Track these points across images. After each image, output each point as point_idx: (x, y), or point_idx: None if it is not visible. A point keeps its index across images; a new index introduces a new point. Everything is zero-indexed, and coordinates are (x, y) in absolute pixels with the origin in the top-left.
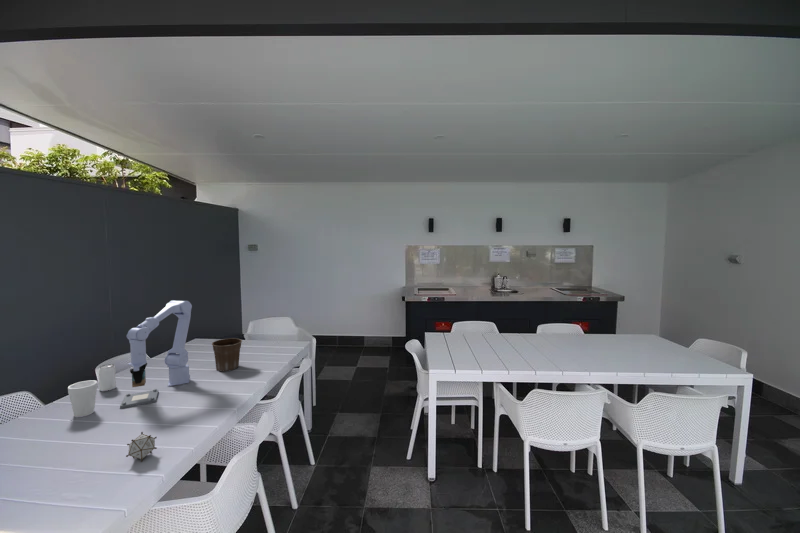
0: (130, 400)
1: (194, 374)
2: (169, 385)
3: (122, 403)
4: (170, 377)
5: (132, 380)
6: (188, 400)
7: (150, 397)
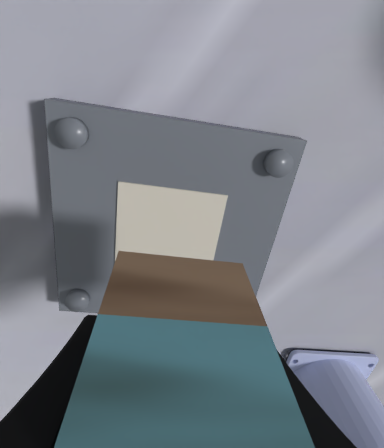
0: (139, 176)
1: None
2: (289, 359)
3: (60, 120)
4: (328, 407)
5: (94, 326)
6: (4, 407)
7: None
